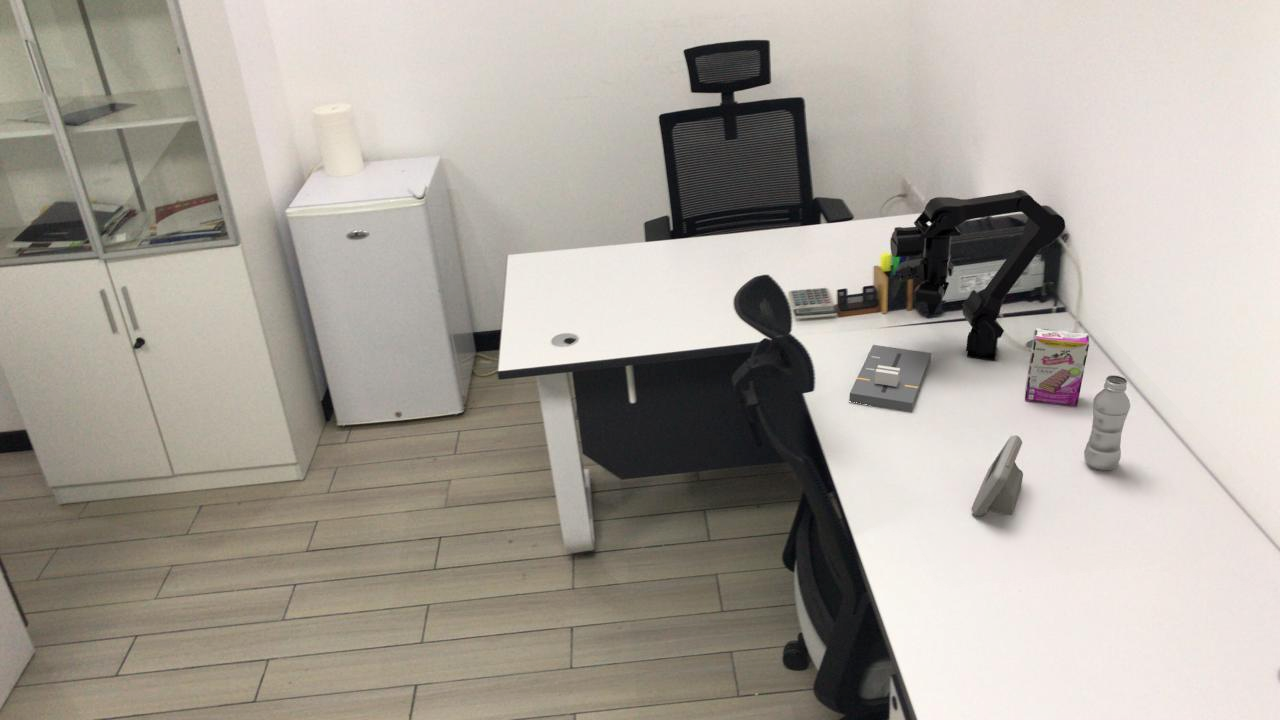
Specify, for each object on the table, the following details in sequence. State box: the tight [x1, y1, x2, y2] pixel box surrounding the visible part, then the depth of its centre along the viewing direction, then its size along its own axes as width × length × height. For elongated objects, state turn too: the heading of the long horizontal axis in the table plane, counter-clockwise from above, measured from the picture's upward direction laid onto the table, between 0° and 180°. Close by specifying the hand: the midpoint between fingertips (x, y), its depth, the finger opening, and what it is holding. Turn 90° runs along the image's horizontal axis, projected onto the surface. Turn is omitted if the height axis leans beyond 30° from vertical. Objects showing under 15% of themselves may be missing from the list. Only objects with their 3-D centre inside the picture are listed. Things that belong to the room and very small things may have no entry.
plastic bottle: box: [1083, 374, 1131, 471], centre depth 197 cm, size 6×7×20 cm
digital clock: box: [971, 434, 1024, 517], centre depth 192 cm, size 16×9×11 cm, turn 138°
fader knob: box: [875, 365, 900, 387], centre depth 229 cm, size 5×3×3 cm, turn 66°
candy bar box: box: [1024, 327, 1090, 407], centre depth 220 cm, size 11×5×16 cm, turn 71°
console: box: [848, 344, 932, 413], centre depth 234 cm, size 14×24×2 cm, turn 156°
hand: (931, 313), depth 238 cm, fingers closed
